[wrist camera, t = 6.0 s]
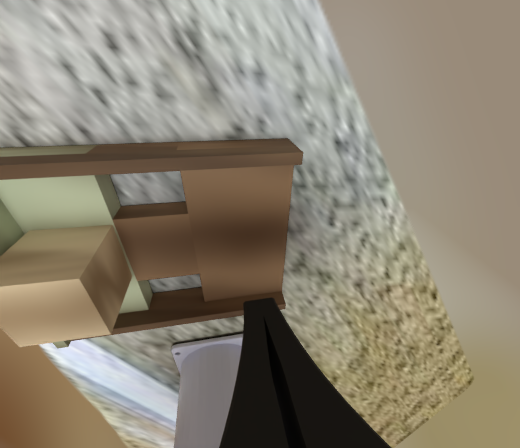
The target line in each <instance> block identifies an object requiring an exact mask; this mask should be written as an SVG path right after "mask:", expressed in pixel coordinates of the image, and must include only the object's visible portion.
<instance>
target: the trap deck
mask: <svg viewBox="0 0 520 448" xmlns="http://www.w3.org/2000/svg"><path fill="white" fill-rule="evenodd" d="M302 158H303V152H302V151H301V150H300V149H299V148H298V147H297V146H296V145H294V144H293V143H292V142H291V141H290V140H289V139H288V138H285V139H255V140H224V141H194V142H163V143H133V144H103V145H72V146H42V147H11V148H0V256H2V255H3V254H4V253H5V252H6V251H7V250H8V249H9V248H10V247H11V246H13V245H14V244H15V243H16V242H17V241H18V240H19V239H20V238H21V237H23V236H24V235H25V234H26V233H27V232H28V231H29V230H44V229H58V228H73V227H88V226H102V225H113V227H114V230H115V233H116V235H117V238H118V240H119V243H120V246H121V248H122V251H123V253H124V256H125V258H126V261H127V264H128V266H129V269H130V271H131V274H132V279H131V281H130V284H129V287H128V290H127V292H126V295H125V298H124V300H123V303H122V306H121V308H120V311H119V314H118V317H117V319H116V322H115V325H114V327H113V330H112V333H111V334H110V335H114V334H121V333H128V332H134V331H141V330H148V329H154V328H161V327H168V326H174V325H181V324H188V323H195V322H201V321H208V320H215V319H221V318H228V317H235V316H242V315H244V310H243V303H244V302H245V301H250V300H257V299H264V298H271V297H272V298H274V299H275V301H276V303H277V305H278V307H279V309H280V310H282V309H285V306H286V303H285V300H284V297H283V294H282V283H283V272H284V262H285V251H286V241H287V231H288V220H289V210H290V199H291V189H292V178H293V168H294V165H302ZM166 171H180V172H181V177H182V183H183V188H184V194H185V199H186V202H174V203H160V204H146V205H132V206H121V205H120V202H119V200H118V197H117V194H116V192H115V189H114V186H113V183H112V181H111V178H110V175H109V174H127V173H147V172H166ZM193 274H200V279H201V285H202V287H199V288H191V289H183V290H175V291H168V292H160V293H153V292H152V290H151V287H150V284H149V282H148V280H151V279H159V278H168V277H176V276H185V275H193ZM102 336H107V335H102ZM95 337H101V336H95ZM88 338H94V337H88ZM81 339H87V338H81ZM81 339H74V340H81ZM74 340H66V341H59V342H52V343H53V344H54V345H55V346H56V347H57V348H63V347H68V346H69V344H70V342H71V341H74Z"/></svg>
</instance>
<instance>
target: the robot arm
mask: <svg viewBox="0 0 520 448" xmlns="http://www.w3.org/2000/svg"><path fill="white" fill-rule="evenodd" d="M243 310H244V330H243V334H238V335H232V336H225V337H219V338H213V339H207V340H201V341H194V342H188V343H182V344H176V345H173V346H172V349H171V352H172V355H173V357H174V360H175V363H176V365H177V368H178V370H179V373H180V376H181V377H180V388H179V398H178V409H177V419H176V430H175V441H174V448H391V447H390V446H389V445H388V444H387V443H386V442H385V441H384V440H383V439H382V438H381V437H380V436H379V435H378V434H377V433H376V432H375V431H374V430H373V429H372V428H371V427H370V426H369V425H368V424H367V423H366V422H365V420H364V419H363V418H362V417H361V416H360V415H359V414H358V413H357V412H356V411H355V410H354V409H353V408H352V407H351V406H350V405H349V404H348V402H347V401H346V400H345V399H344V398H343V397H342V396H341V394H340V393H339V392H338V391H337V390H336V389H335V388H334V386H333V385H332V384H331V383H330V382H329V380H328V379H327V378H326V377H325V376H324V374H323V373H322V372H321V370H320V369H319V368H318V367H317V365H316V364H315V363H314V361H313V360H312V359H311V357H310V356H309V355H308V353H307V352H306V350H305V349H304V348H303V346H302V345H301V343H300V342H299V340H298V339H297V337H296V336H295V334H294V333H293V331H292V330H291V328H290V326H289V325H288V323H287V322H286V320H285V318H284V316H283V315H282V313H281V311H280V309H279V307H278V305H277V303H276V301H275V299H274V298H272V297H271V298H264V299H257V300H250V301H245V302H244V303H243Z"/></svg>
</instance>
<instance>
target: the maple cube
mask: <svg viewBox="0 0 520 448" xmlns="http://www.w3.org/2000/svg"><path fill="white" fill-rule="evenodd" d="M131 279H132V274H131V271H130V269H129V266H128V264H127V261H126V258H125V256H124V253H123V251H122V248H121V246H120V243H119V240H118V238H117V235H116V233H115V230H114V227H113V225H102V226H88V227H73V228H58V229H44V230H29V231H28V232H27V233H26V234H25V235H24V236H23V237H21V238H20V239H19V240H18V241H17V242H16V243H15V244H14V245H13V246H11V247H10V248H9V249H8V250H7V251H6V252H5V253H4V254H3V255H2V256H0V328H1V329H2V330H3V331H4V332H5V333H6V334H7V335H8V336H9V337H10V338H11V339H12V340H13V341H14V342H15V343H16V344H17V345H18V346H19V347H23V346H30V345H38V344H45V343H52V342H59V341H66V340H74V339H81V338H88V337H95V336H102V335H110V334H111V333H112V330H113V327H114V325H115V322H116V319H117V317H118V314H119V311H120V308H121V306H122V303H123V300H124V298H125V295H126V292H127V290H128V287H129V284H130V281H131Z"/></svg>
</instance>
